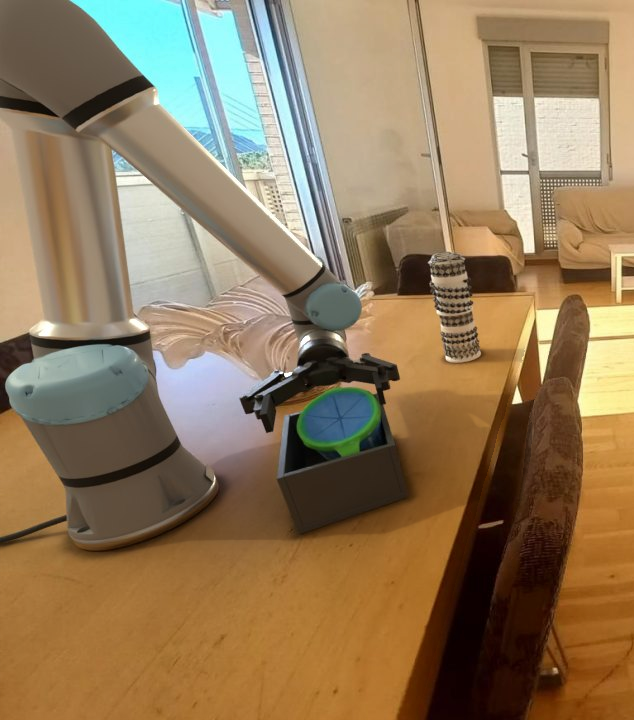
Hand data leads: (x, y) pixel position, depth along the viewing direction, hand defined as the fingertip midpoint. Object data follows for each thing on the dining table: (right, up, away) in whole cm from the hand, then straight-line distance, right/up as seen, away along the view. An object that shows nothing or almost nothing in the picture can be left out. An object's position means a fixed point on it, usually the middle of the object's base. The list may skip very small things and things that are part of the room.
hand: (326, 409), depth 64 cm
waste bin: (-1, -12, +8) cm, 14 cm away
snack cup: (-1, -8, +10) cm, 13 cm away
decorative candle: (+1, +8, +52) cm, 53 cm away
